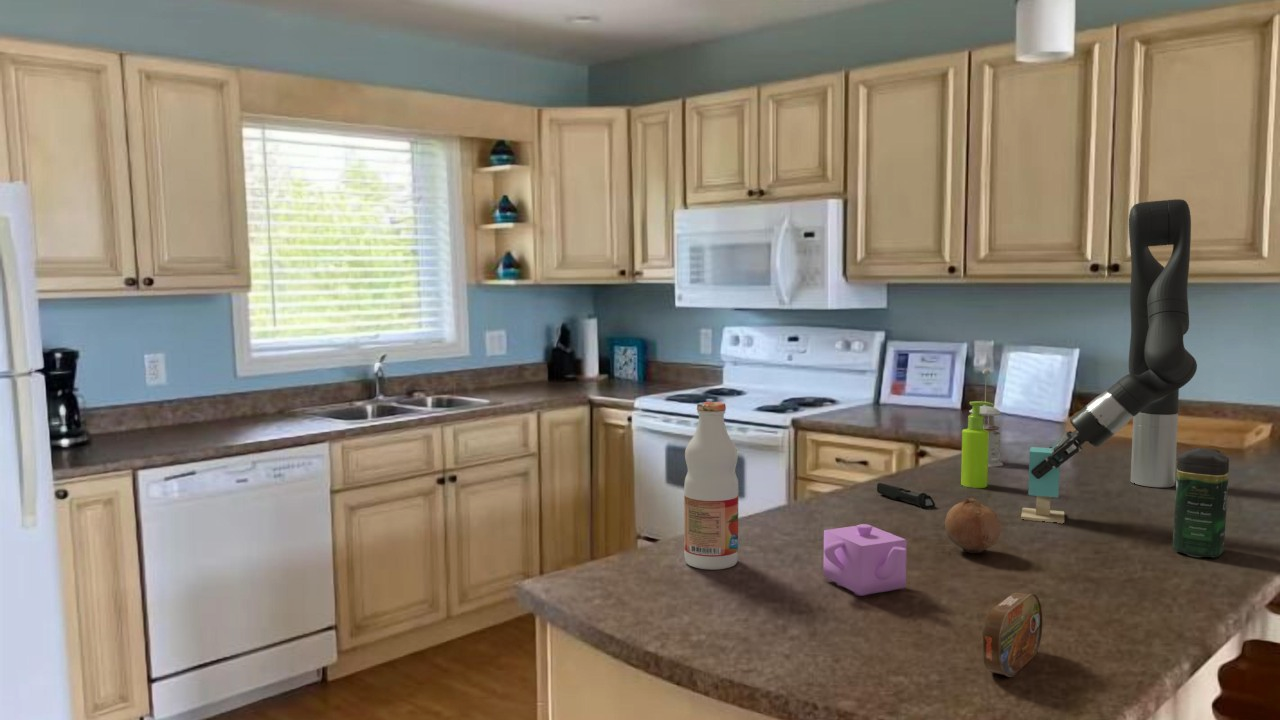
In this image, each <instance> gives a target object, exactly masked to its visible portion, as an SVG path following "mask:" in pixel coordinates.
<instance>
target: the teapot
mask: <svg viewBox="0 0 1280 720" xmlns="http://www.w3.org/2000/svg"><path fill="white" fill-rule="evenodd" d="M907 544H908V541H907V539H905V538H903V537H901V536H898V535H895V534H894V533H891V532H887V531H885V530H884V529H883V530H882V529H880V528H877V527H875V526H873V525H870V524H868V523H867V524H866V523H861V524H858V525H851V526H845V527H839V528H838V527H837V528H830V529H824V531H823V562H822V563H823V566H822V567H823V568H822V569H823V570H822V571H823V577H824V578H826V579H827V580H830V581H832V582H834V583H835V584H836V586H837V587H843V588H846V589H847V590H849V591H851V592H853V593H854V595H856V596H861V597H863V596H867V595H872V594H877V593H878V594H879V593H883V592H884V593H885V592H891V591H894V590H895V591H897V590H901V589H906V587H907V583H906V582H907V551H908V550H907V549H908V548H907V547H908V546H907Z"/></svg>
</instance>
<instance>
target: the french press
mask: <svg viewBox="0 0 1280 720" xmlns="http://www.w3.org/2000/svg"><path fill="white" fill-rule="evenodd" d="M982 374H983V375H985V378H984V379H985V382H984V384H985V386H984V389H985V390H984V402H987V401H986V400H987V399H986V398H987V375H990V374H991V371H990V370H989V369H988V368H986V369H983V370H982ZM968 411H969V414H970V415H971V414H972V408H971V409H970V410H968ZM1001 414H1002V411H1000V410H999V409H997V408H996V407H994V406H989V405H980V415H981V416H983V429H984V430H987V431H989V442H988V468H989V467H990V468H994V467H1001V466H1003V465H1004V463H1003V462H1002V460H1001V459H1000V457H1001V455H1000V453H1001V433H1000V432H998V430H999V429H1000V427H999V426H997V425H990V417H993V416H995V417H996V416H1001ZM986 416H987V419H986ZM986 421H987V424H986Z"/></svg>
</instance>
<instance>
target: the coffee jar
mask: <svg viewBox="0 0 1280 720" xmlns="http://www.w3.org/2000/svg"><path fill="white" fill-rule="evenodd" d="M1229 467H1230V459H1229V456H1227V455H1226V454H1223V453H1222V452H1221V451H1220V450H1219V449H1212V448H1203V447H1193V449H1190V450H1186V451H1185V452H1182V453H1181V454H1179V455H1178V458H1176V476H1175V499H1174V518H1173V531H1172V548H1173V550H1174V552H1178V553H1181V554H1184V555H1185V554H1186V555H1187V556H1189V557H1194V558H1204V557H1205V558H1217V557H1220V556H1221V555H1222V554H1223V553H1224V550H1225V538H1226V522H1227V511H1228V510H1227V508H1228V498H1229V497H1228V496H1229V495H1228V493H1229V475H1230V471H1229V470H1230V469H1229Z"/></svg>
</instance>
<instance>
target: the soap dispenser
mask: <svg viewBox="0 0 1280 720" xmlns="http://www.w3.org/2000/svg"><path fill="white" fill-rule="evenodd" d="M969 405H970V406H971V407H972V408H971V409H972V414H971V413H970V414H969V415H968V417H967V428H964V429H962V431H961V467H960V469H961V470H960V485H961V486H962V485H963V486H962V487H966V488H971V487H972V488H974V489H983V488H986V487H988V474H989V473H988V472H989V471H988V470H989V469H988V468H989V467H988V442H989V431H987V430H984V429H983V424H984V420H983V419H984V416H982V415H980V406H983V405H987V406H990V407H994V406H995V403H993V402H990V401H986V402H985V400H984V401H983V400H980V401H978V400H977V401H969Z"/></svg>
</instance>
